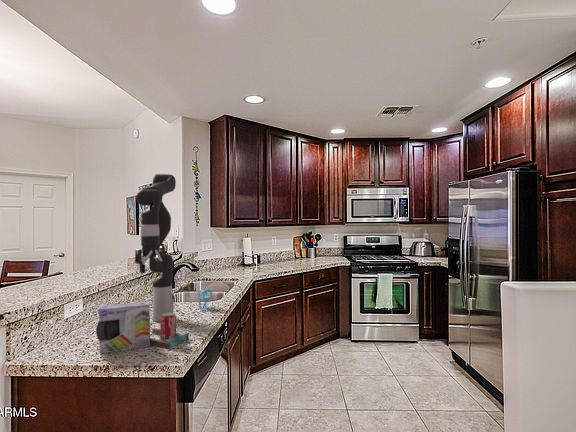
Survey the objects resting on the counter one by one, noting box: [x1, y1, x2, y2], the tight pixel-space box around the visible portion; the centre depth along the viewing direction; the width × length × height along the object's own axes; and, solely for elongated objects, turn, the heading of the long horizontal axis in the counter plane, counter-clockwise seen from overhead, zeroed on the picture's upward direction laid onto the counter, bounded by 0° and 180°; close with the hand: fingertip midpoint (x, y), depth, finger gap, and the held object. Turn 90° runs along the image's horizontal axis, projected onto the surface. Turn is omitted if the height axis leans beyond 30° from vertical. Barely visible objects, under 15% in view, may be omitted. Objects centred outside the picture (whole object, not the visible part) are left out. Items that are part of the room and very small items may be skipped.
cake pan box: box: [95, 301, 151, 354], centre depth 137 cm, size 19×5×18 cm, turn 110°
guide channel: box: [150, 327, 190, 350], centre depth 147 cm, size 11×21×3 cm, turn 61°
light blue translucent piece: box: [196, 288, 215, 312], centre depth 198 cm, size 8×8×12 cm
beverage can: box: [159, 312, 177, 341], centre depth 143 cm, size 6×6×12 cm
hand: (150, 271), depth 153 cm, fingers open, 8 cm apart
